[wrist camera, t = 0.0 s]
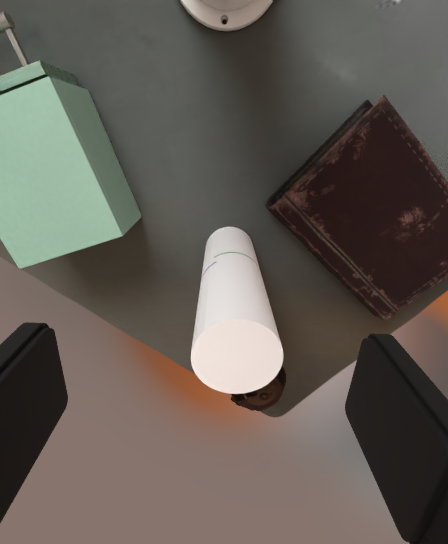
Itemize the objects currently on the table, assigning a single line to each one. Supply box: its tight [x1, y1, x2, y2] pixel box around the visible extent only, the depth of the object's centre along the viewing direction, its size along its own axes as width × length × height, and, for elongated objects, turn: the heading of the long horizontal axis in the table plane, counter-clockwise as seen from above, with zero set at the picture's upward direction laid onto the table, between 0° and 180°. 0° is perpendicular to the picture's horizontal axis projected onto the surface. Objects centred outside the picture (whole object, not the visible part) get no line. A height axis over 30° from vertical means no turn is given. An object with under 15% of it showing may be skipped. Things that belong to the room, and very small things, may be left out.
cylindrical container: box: [191, 227, 283, 394], centre depth 36 cm, size 7×7×25 cm
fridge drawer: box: [0, 11, 78, 95], centre depth 36 cm, size 21×12×8 cm, turn 17°
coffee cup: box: [231, 366, 286, 411], centre depth 47 cm, size 9×8×13 cm
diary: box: [266, 95, 448, 321], centre depth 43 cm, size 19×25×5 cm
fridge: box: [0, 76, 142, 269], centre depth 38 cm, size 17×14×10 cm
